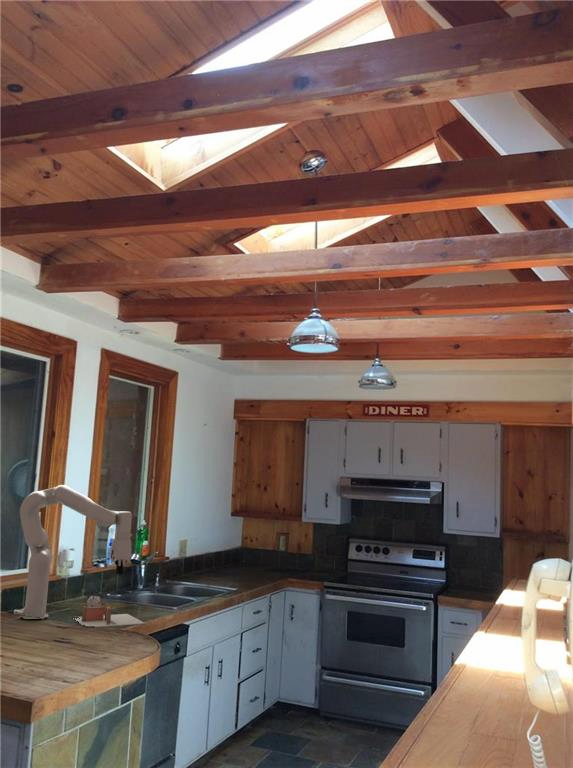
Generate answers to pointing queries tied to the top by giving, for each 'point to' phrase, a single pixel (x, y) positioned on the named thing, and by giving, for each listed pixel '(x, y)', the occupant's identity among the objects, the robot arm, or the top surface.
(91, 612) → the fence fixed
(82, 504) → the robot arm
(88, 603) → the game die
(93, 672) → the top surface
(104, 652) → the top surface
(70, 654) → the top surface
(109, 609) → the fence panel
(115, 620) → the card
